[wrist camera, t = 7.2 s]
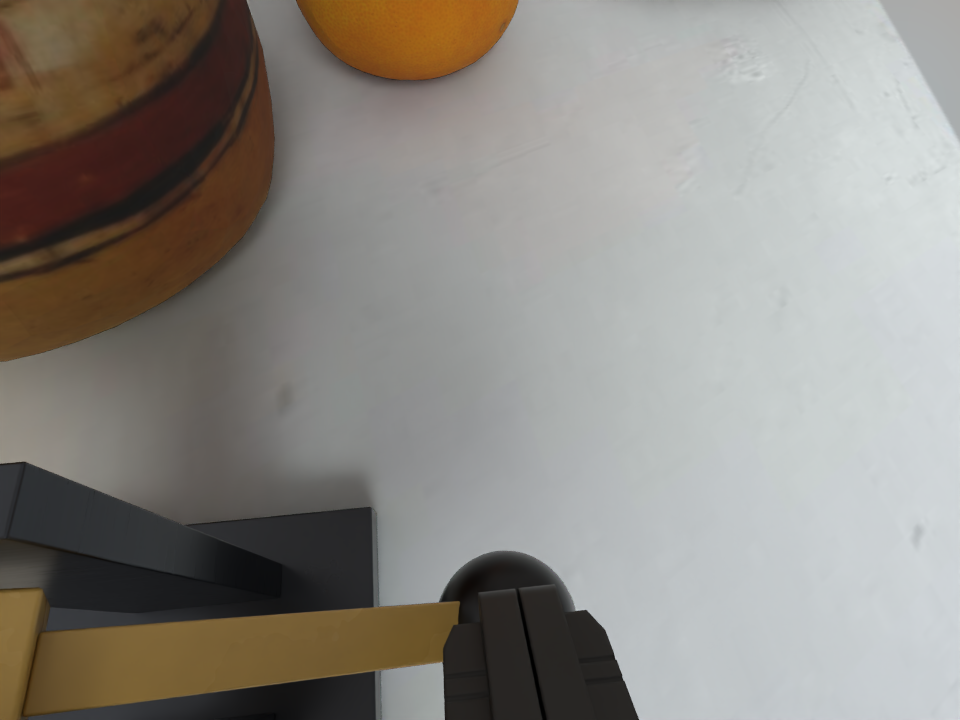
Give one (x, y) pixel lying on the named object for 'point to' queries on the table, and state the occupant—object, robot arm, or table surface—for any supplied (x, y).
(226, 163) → the ceramic pitcher
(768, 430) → the table surface
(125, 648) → the tap lever
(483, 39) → the fruit
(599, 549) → the table surface
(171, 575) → the tap bracket
